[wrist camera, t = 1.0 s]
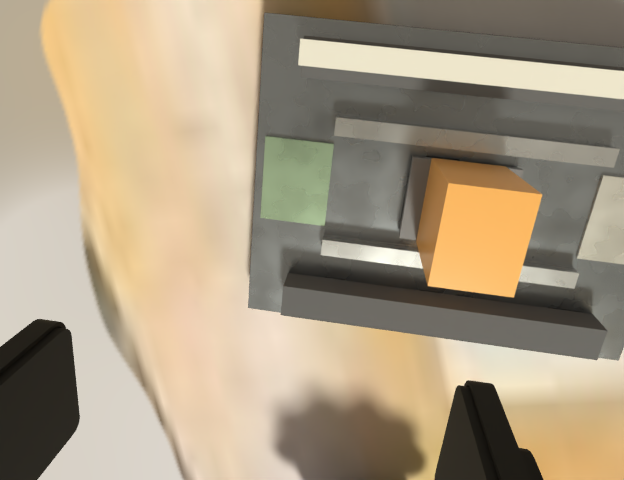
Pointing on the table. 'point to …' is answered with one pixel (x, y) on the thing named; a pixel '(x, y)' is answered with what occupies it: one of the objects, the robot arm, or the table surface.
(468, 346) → the table surface
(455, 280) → the toggle
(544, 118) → the panel
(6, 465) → the robot arm
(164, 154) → the table surface
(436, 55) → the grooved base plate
